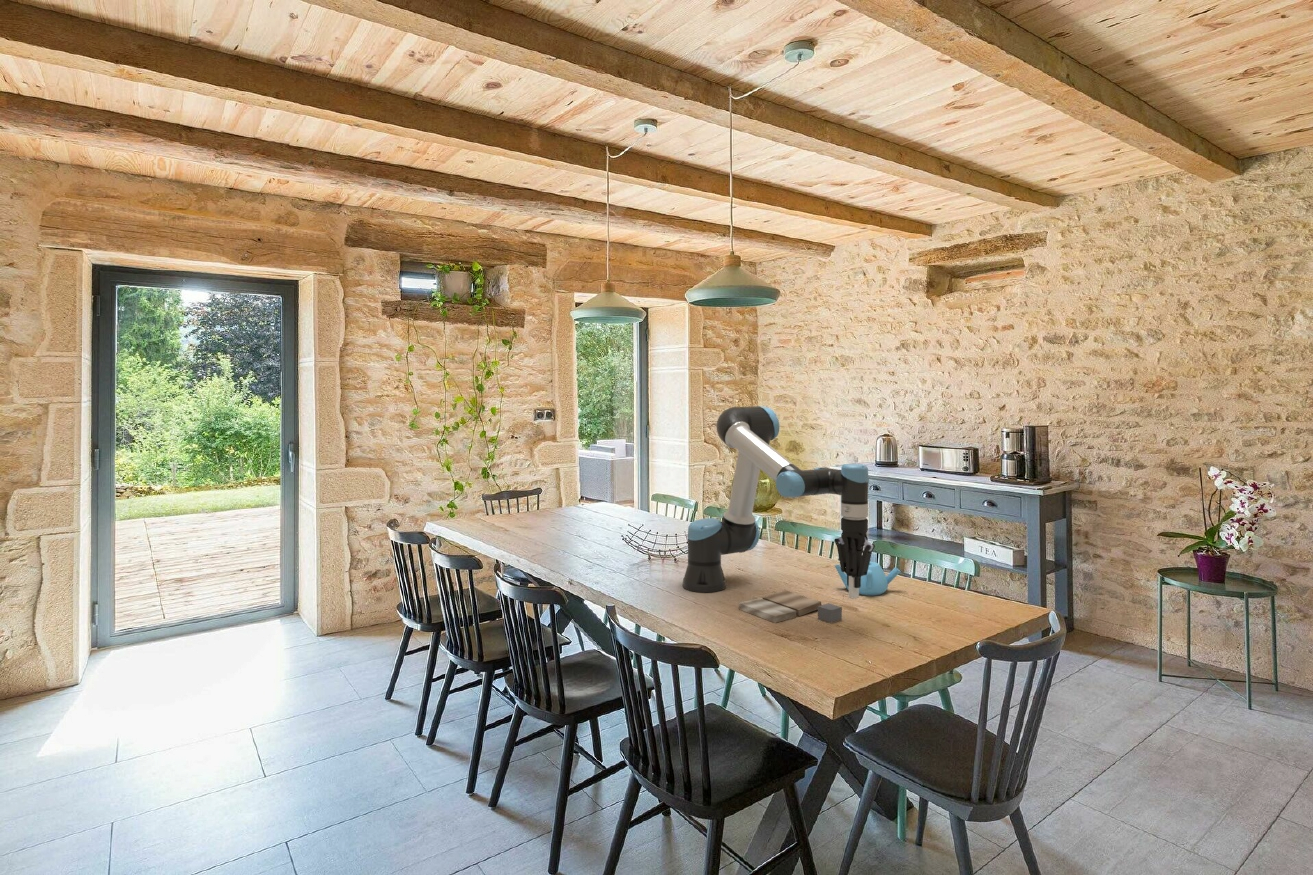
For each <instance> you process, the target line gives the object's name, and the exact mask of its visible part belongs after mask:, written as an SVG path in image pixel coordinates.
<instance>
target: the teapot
mask: <svg viewBox="0 0 1313 875" xmlns="http://www.w3.org/2000/svg"><path fill="white" fill-rule="evenodd" d="M871 560H872V559H871V558H870V563H869V567H868V572H867V575H864V576H861V587H860V588H859V596H860V595H861V596H880V595H883V594H884V593H885V592H886V591H887V590H888V587H889V584H890V583H891V582H892V581H893V580H894V579H895V578H896V577H897V576H898V575H899V574H900V573H901V572H902V571H901V570H900V569H899V568H898V567H896V566H894V568H893V569H892V570H891V571H890V572H889V573H888V574H887V575H886V574H885V571H884V570H883V568H882V566H881V565H880V563H878V562H875V561H871ZM834 567H835V569H836V571H837V573H838V575H839V577H840V579H841V582H843V584H844V586H845V589H847V590H848V591H849V586H847V575H846V573H845V572H842V571H841V566H840V564H834Z"/></svg>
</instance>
